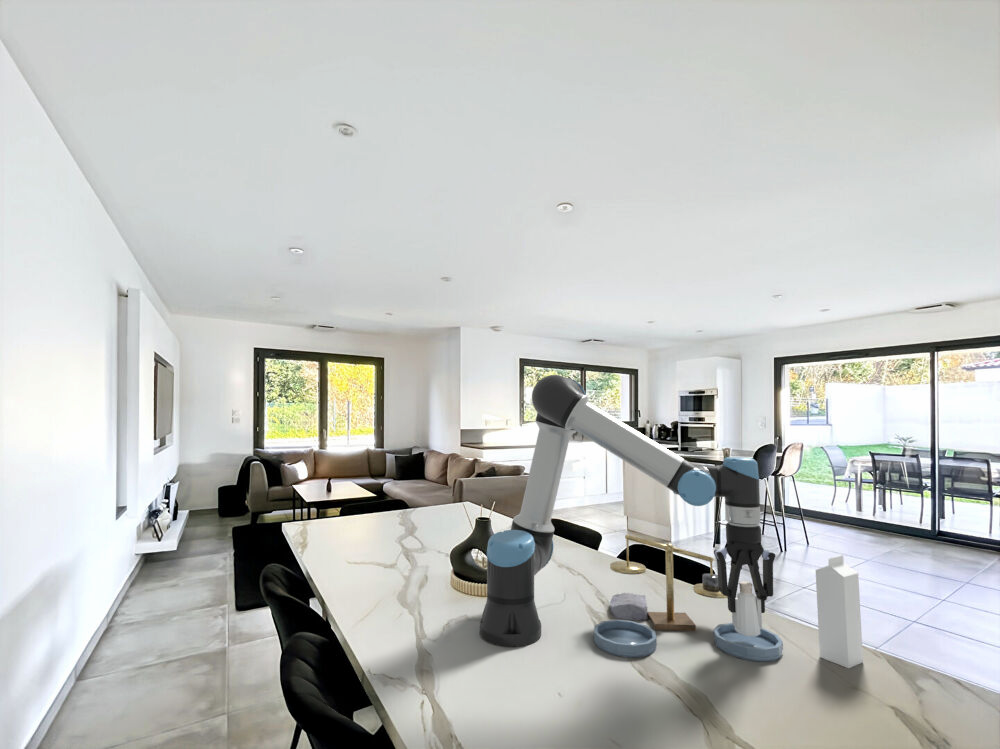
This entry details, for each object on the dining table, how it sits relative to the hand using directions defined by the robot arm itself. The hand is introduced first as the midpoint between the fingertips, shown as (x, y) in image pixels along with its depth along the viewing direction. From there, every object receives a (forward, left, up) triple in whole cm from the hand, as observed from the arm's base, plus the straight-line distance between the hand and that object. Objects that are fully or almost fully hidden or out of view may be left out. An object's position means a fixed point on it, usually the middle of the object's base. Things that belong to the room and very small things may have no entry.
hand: (747, 626), depth 116 cm
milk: (+17, +8, -5) cm, 19 cm away
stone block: (-31, +1, -5) cm, 31 cm away
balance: (-19, 0, -5) cm, 19 cm away
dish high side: (-22, -18, -5) cm, 28 cm away
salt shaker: (0, 0, -1) cm, 1 cm away
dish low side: (0, 0, -5) cm, 5 cm away
